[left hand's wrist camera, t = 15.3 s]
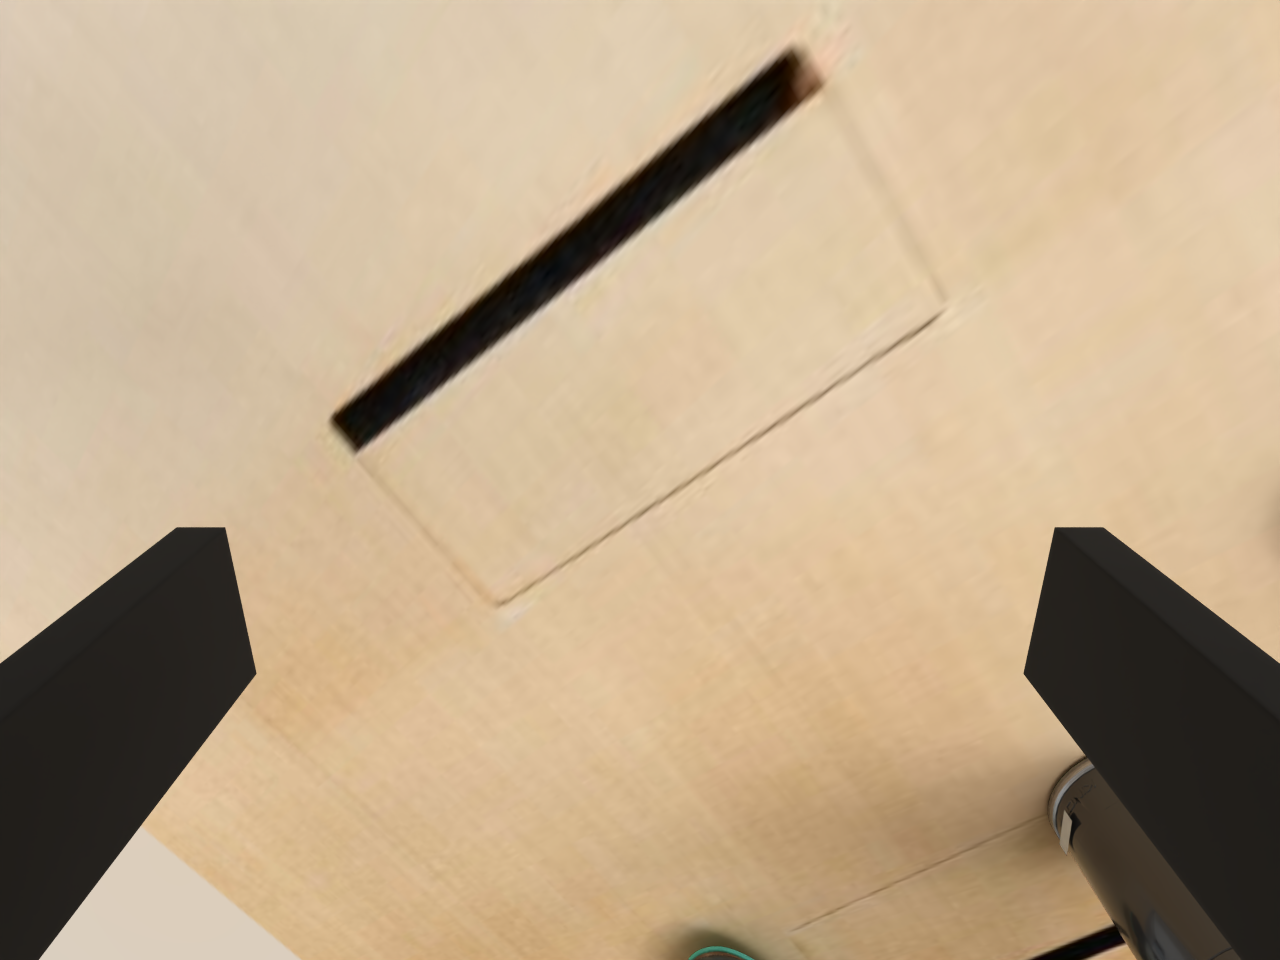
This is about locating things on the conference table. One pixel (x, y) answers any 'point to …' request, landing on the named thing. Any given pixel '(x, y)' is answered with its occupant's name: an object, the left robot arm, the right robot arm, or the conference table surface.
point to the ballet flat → (718, 954)
